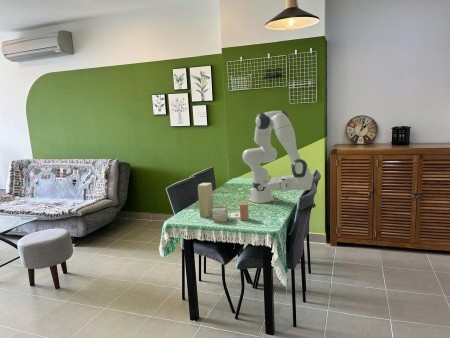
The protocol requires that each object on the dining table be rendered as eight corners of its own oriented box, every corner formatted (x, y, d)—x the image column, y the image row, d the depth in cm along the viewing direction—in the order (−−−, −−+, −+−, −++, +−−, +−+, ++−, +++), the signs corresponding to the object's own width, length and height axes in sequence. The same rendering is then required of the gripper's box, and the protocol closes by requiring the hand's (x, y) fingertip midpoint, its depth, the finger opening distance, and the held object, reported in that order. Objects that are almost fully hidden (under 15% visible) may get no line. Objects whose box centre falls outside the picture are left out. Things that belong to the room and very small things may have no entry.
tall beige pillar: (204, 212, 227) (202, 182, 223) (214, 213, 224) (212, 182, 220) (198, 216, 220) (196, 185, 216) (209, 217, 217) (206, 185, 213)
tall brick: (241, 218, 212) (240, 202, 211) (248, 218, 212) (247, 202, 210) (240, 220, 208) (239, 204, 206) (247, 220, 207) (247, 204, 206)
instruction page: (230, 212, 224) (230, 212, 224) (242, 212, 223) (242, 211, 223) (230, 217, 214) (230, 217, 214) (243, 217, 214) (243, 216, 214)
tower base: (215, 217, 216) (214, 205, 215) (227, 217, 215) (227, 205, 213) (213, 221, 208) (212, 209, 207) (225, 221, 207) (225, 209, 205)
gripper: (286, 174, 208) (264, 174, 212) (283, 181, 189) (259, 181, 193) (287, 184, 209) (265, 184, 213) (284, 192, 190) (259, 192, 194)
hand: (262, 183), depth 203 cm, fingers open, 8 cm apart
